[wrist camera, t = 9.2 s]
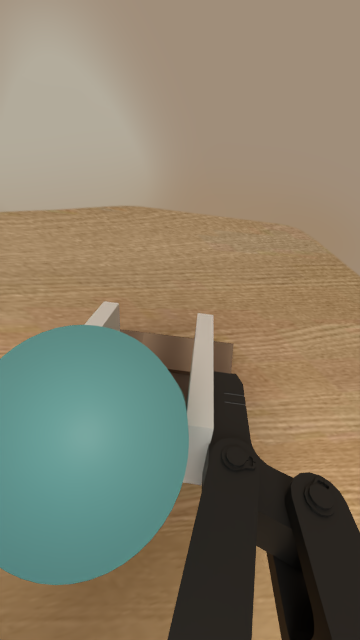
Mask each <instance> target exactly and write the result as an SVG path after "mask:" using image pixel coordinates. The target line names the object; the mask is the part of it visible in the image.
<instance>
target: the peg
mask: <svg viewBox="0 0 360 640" xmlns="http://www.w3.org/2000/svg"><path fill="white" fill-rule="evenodd" d="M188 449H189V432H188V419H187V410H186V402H185V397H184V394H183V392H182V390H181V388H180V387H179V385H178V384H177V382H176V381H175V379H174V378H173V376H172V375H171V373H170V372H169V370H168V369H167V368H166V366H165V365H164V364H163V363H162V361H161V360H160V359H159V358H158V357H157V356H156V355H155V354H154V353H153V352H152V351H151V350H150V349H149V348H148V347H146V346H145V345H144V344H142V343H141V342H139V341H138V340H136V339H135V338H133V337H131V336H129V335H127V334H125V333H123V332H120V331H117V330H114V329H111V328H106V327H101V326H94V325H72V326H65V327H60V328H55V329H52V330H49V331H46V332H42V333H40V334H38V335H36V336H34V337H31V338H29V339H27V340H26V341H24V342H22V343H21V344H19V345H17V346H16V347H15V348H13V349H12V350H11V351H9V352H8V353H7V354H5V355H4V356H3V357H2V358H1V359H0V568H2V569H3V570H5V571H6V572H8V573H10V574H12V575H14V576H17V577H19V578H21V579H24V580H28V581H31V582H35V583H40V584H50V585H63V584H74V583H79V582H83V581H88V580H91V579H94V578H96V577H99V576H102V575H104V574H107V573H109V572H110V571H112V570H114V569H116V568H117V567H119V566H121V565H123V564H124V563H125V562H127V561H128V560H129V559H131V558H132V557H133V556H135V555H136V554H137V553H138V552H139V551H140V550H141V549H142V548H143V547H144V546H145V545H146V544H147V543H148V542H149V541H150V540H151V539H152V538H153V537H154V535H155V534H156V533H157V532H158V530H159V529H160V528H161V526H162V525H163V524H164V522H165V520H166V518H167V517H168V515H169V513H170V512H171V510H172V508H173V506H174V504H175V501H176V499H177V497H178V495H179V492H180V489H181V486H182V483H183V479H184V476H185V471H186V466H187V460H188Z"/></svg>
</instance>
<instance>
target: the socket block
mask: <svg viewBox="0 0 360 640" xmlns="http://www.w3.org/2000/svg"><path fill="white" fill-rule="evenodd" d="M120 332H123V333H125V334H127V335H129V336H131V337H133V338H135V339H136V340H138V341H139V342H141V343H142V344H144V345H145V346H146V347H148V348H149V349H150V350H151V351H152V352H153V353H154V354H155V355H156V356H157V357H158V358H159V359H160V360H161V361H162V363H163V364H164V365H165V366H166V368H167V369H168V370H169V372H170V373H171V375H172V376H173V378H174V379H175V381H176V382H177V384H178V385H179V387H180V388H181V390H182V392H183V394H184V397H185V402H186V405H187V396H188V388H189V379H190V370H191V361H192V353H193V346H194V339H192V338H184V337H176V336H168V335H160V334H153V333H145V332H137V331H129V330H121V329H120ZM232 354H233V344H231V343H223V342H216V341H213V371H216V372H223V373H231V367H232Z"/></svg>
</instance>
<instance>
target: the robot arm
mask: <svg viewBox="0 0 360 640" xmlns="http://www.w3.org/2000/svg"><path fill="white" fill-rule="evenodd" d="M84 325H94V326H101V327H106V328H111V329H114V330H117V331H120V317H119V303H113V302H105V301H104V302H103V303H102V305H101V306H100V307H99V308H98V309H97V310H96V312H95V313H94V314H93V315H92V316H91V317H90V319H89V320H88V321H87V322H86V323H85V324H84ZM186 410H187V419H188V432H189V449H188V460H187V466H186V471H185V476H184V479H183V482H184V483H190V484H197V485H201V484H202V494H201V498H200V502H199V507H198V511H197V515H196V520H195V524H194V528H193V532H192V537H191V541H190V545H189V550H188V554H187V558H186V563H185V567H184V571H183V576H182V580H181V584H180V588H179V593H178V597H177V601H176V606H175V610H174V614H173V619H172V623H171V627H170V631H169V636H168V640H251V638H252V618H253V598H254V578H255V558H256V546H258V547H260V548H261V549H263V550H265V551H267V557H268V563H269V569H270V574H271V580H272V586H273V592H274V597H275V603H276V609H277V615H278V621H279V626H280V632H281V638H282V640H360V532H359V530H358V528H357V525H356V523H355V521H354V519H353V516H352V514H351V512H350V510H349V507H348V505H347V503H346V501H345V500H344V498H343V496H342V495H341V493H340V491H339V490H338V489H337V488H336V487H335V486H334V485H333V484H332V483H331V482H329V481H328V480H326V479H324V478H323V477H321V476H320V475H316V474H313V473H300V474H299V475H297V476H296V477H294V478H292V477H290V476H288V475H286V474H284V473H282V472H280V471H278V470H276V469H274V468H272V467H270V466H269V465H267V464H266V463H265V462H263V461H262V460H261V459H260V458H259V456H258V455H257V454H256V453H255V451H254V449H253V447H252V444H251V439H250V432H249V425H248V418H247V411H246V406H245V397H244V390H243V384H242V382H241V381H240V379H239V378H238V376H237V375H236V374H231V373H223V372H216V371H213V315H209V314H201V313H198V316H197V323H196V331H195V338H194V346H193V353H192V361H191V370H190V379H189V388H188V396H187V405H186Z"/></svg>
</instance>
